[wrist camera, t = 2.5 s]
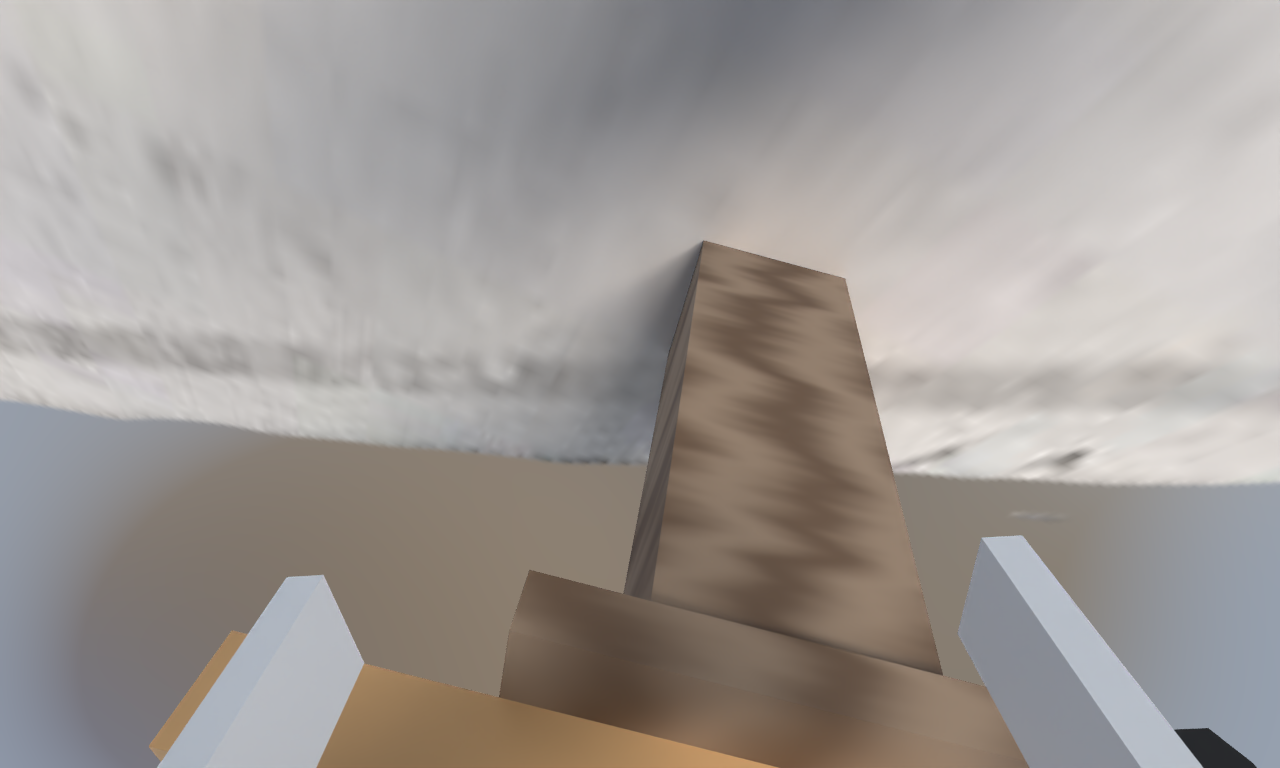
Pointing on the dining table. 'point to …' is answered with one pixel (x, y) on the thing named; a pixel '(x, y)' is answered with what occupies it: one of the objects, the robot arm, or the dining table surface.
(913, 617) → the walnut stand
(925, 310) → the dining table surface
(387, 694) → the brown block
